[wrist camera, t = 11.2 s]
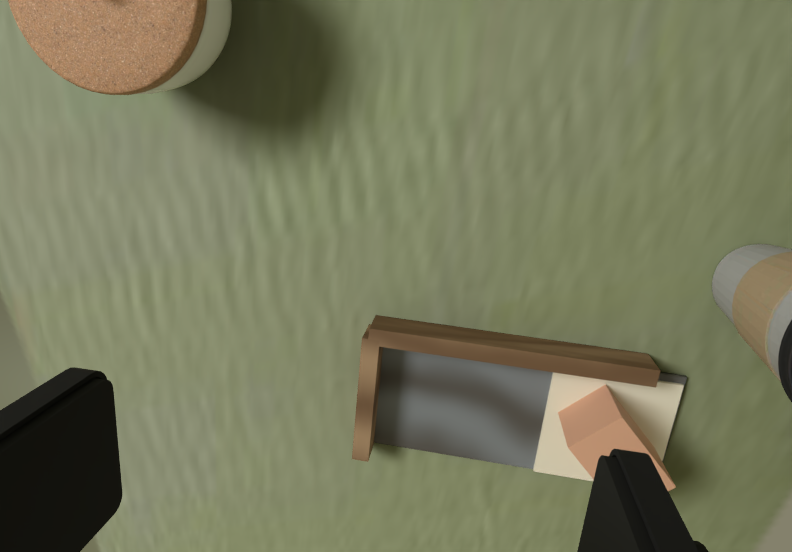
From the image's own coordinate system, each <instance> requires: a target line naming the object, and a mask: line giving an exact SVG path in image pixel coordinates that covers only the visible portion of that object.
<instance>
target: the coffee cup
mask: <svg viewBox="0 0 792 552" xmlns="http://www.w3.org/2000/svg"><path fill="white" fill-rule="evenodd" d="M712 292H713V296H714V299H715V301H716V303H717V305H718V306H719V307H720V309H721V310H722V311H723V312H724V313H725V314H726V316H727V317H728V318H729V319H730V320H731V321H732V322H733V324H734V325H735V327H736V329H737V331H738V333H739V334H740V335H741V336H742V338H743V339H744V340H745V341H746V342H747V343H748V344H749V346H750V347H751V348H752V349H753V350H754V351H755V352H756V354H757V355H758V356H759V357H760V358H761V359H762V361H763V362H764V363H765V364H766V365H767V366H768V367H769V369H770V370H771V371H772V372H773V373H774V374H775V375H776V377H777V378H778V379H779V380H780V381H781V383H782V386H783V388H784V390H785V392H786V394H787V396H788V397H789V399H790V400H791V402H792V249H788V248H783V247H779V246H774V245H768V244H754V245H748V246H744V247H741V248H738V249H736V250H734V251H732V252H730V253H729V254H728V255H726V256H725V257H724V258H723V259H722V260H721V261H720V263H719V264H718V266H717V268H716V270H715V273H714V276H713V281H712Z"/></svg>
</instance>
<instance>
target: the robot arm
mask: <svg viewBox="0 0 792 552" xmlns="http://www.w3.org/2000/svg"><path fill="white" fill-rule="evenodd" d="M121 499H122V484H121V473H120V461H119V450H118V438H117V427H116V415H115V404H114V392H113V386H112V383H111V382H110V381H109V380H107V378H106V376H105V374H104V373H102V372H101V371H94V370H88V369H81V368H69V369H67V370H65V371H63V372H62V373H60V374H59V375H57V376H55V377H54V378H52V379H50V380H49V381H47V382H46V383H44V384H42V385H41V386H39V387H37V388H36V389H34V390H33V391H31V392H29V393H28V394H26V395H25V396H23V397H21V398H20V399H18V400H16V401H15V402H13V403H12V404H10V405H8V406H7V407H5V408H3V409H2V410H0V552H80V551H81V550H82V549H83V548H84V546H85V545H86V544H87V543H88V542H89V541H90V540H91V539H92V538H93V537H94V536H95V535H96V533H97V532H98V531H99V530H100V529H101V528H102V527H103V526H104V525H105V524H106V523H107V521H108V520H109V519H110V518H111V517H112V516H113V515H114V514H115V512H116V511H117V509H118V507H119V505H120V502H121ZM577 552H708V550H707V549H706V547H705V546H704V545H703V544H701V543H700V542H698V541H693V540H692V538H691V536H690V534H689V532H688V530H687V528H686V526H685V524H684V522H683V520H682V518H681V516H680V514H679V512H678V510H677V508H676V506H675V504H674V502H673V500H672V498H671V496H670V494H669V493H668V491H667V489H666V487H665V485H664V483H663V481H662V479H661V477H660V475H659V473H658V471H657V469H656V467H655V465H654V463H653V461H652V459H651V457H650V456H649V455H648V454H646V453H641V452H634V451H627V450H621V449H613V450H612V451H611V453H610V455H609V456H604V455H601V456H600V457H599V460H598V463H597V467H596V472H595V476H594V481H593V485H592V489H591V494H590V498H589V503H588V507H587V512H586V516H585V520H584V525H583V529H582V534H581V538H580V543H579V547H578V551H577Z"/></svg>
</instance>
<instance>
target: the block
mask: <svg viewBox="0 0 792 552" xmlns="http://www.w3.org/2000/svg"><path fill="white" fill-rule="evenodd" d="M558 415H559V418H560V422H561V425H562V429H563V432H564V436H565V439H566V443H567V446H568V448H569V450H570V451H571V452H572V453H573V455H574V456H575V457H576V458H577V460H578V461H579V462H580V463H581V465H582V466H583V467H584V468H585V470H586V471H587V472H588V473H589V475H590V476H591V477H592V478H593V480H594V476H595V472H596V467H597V463H598V460H599V457H600V456H601V455H604V456H609V455H610V453H611V451H612V450H613V449H621V450H627V451H634V452H641V453H646V454H648V455H649V456H650V457H651V459H652V461H653V463H654V465H655V467H656V469H657V471H658V473H659V475H660V477H661V479H662V481H663V483H664V485H665V487H666V489H667V491H670V490H672V489H674V488H676V486H675V484H674V482H673V480H672V479H671V477H670V475H669V473H668V471H667V470H666V468H665V466H664V464H663V462H662V460H661V459H660V457H659V455H658V453H657V451H656V449H655V448H654V446H653V445H652V444H651V442H650V441H649V440H648V439H647V437H646V436H645V435H644V433H643V432H642V431H641V429H640V428H639V427H638V426H637V424H636V423H635V422H634V420H633V419H632V418H631V417H630V415H629V414H628V413H627V411H626V410H625V409H624V407H623V406H622V405H621V404H620V402H619V401H618V400H617V398H616V397H615V396H614V394H613V393H612V392H611V391H610V389H609V388H608V387H607V385H606V384H605V385H603V386H602V387H600V388H598V389H597V390H595V391H593V392H592V393H590V394H588V395H587V396H585V397H583V398H581V399H580V400H578V401H576V402H575V403H573V404H571V405H570V406H568V407H566V408H565V409H563V410H561V411H559V412H558Z"/></svg>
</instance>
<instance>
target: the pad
mask: <svg viewBox="0 0 792 552" xmlns="http://www.w3.org/2000/svg"><path fill="white" fill-rule="evenodd" d="M605 384H606V385H607V387H608V388H609V389H610V391H611V392H612V393H613V394H614V396H615V397H616V398H617V400H618V401H619V402H620V404H621V405H622V406H623V407H624V409H625V410H626V411H627V413H628V414H629V415H630V417H631V418H632V419H633V420H634V422H635V423H636V424H637V426H638V427H639V428H640V429H641V431H642V432H643V433H644V435H645V436H646V437H647V439H648V440H649V441H650V442H651V444H652V445H653V446H654V448H655V449H656V451H657V453H658V455H659V457H660V459H661V460H662V461H663V458H664V454H665V451H666V447H667V444H668V440H669V437H670V433H671V430H672V426H673V423H674V419H675V415H676V412H677V408H678V405H679V401H680V398H681V394H682V391H683V387H684V385H683V384H680V383H673V382H666V381H659V380H658V382H657V386H656V388H655V387H649V386H642V385H635V384H628V383H622V382H615V381H608V380H601V379H595V378H588V377H581V376H574V375H568V374H561V373H554V372H553V374H552V379H551V384H550V389H549V394H548V399H547V404H546V409H545V414H544V419H543V424H542V429H541V434H540V439H539V443H538V448H537V453H536V458H535V463H534V468H533V470H534V471H535V472H541V473H547V474H553V475H559V476H565V477H571V478H577V479H583V480H589V481H594V480H593V478H592V477H591V476H590V475H589V473H588V472H587V471H586V470H585V468H584V467H583V466H582V465H581V463H580V462H579V461H578V460H577V458H576V457H575V456H574V455H573V453H572V452H571V451H570V450H569V448H568V446H567V443H566V439H565V436H564V432H563V429H562V425H561V422H560V418H559V415H558V412H559V411H561V410H563V409H565V408H566V407H568V406H570V405H571V404H573V403H575V402H576V401H578V400H580V399H581V398H583V397H585V396H587V395H588V394H590V393H592V392H593V391H595V390H597V389H598V388H600V387H602V386H603V385H605Z"/></svg>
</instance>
